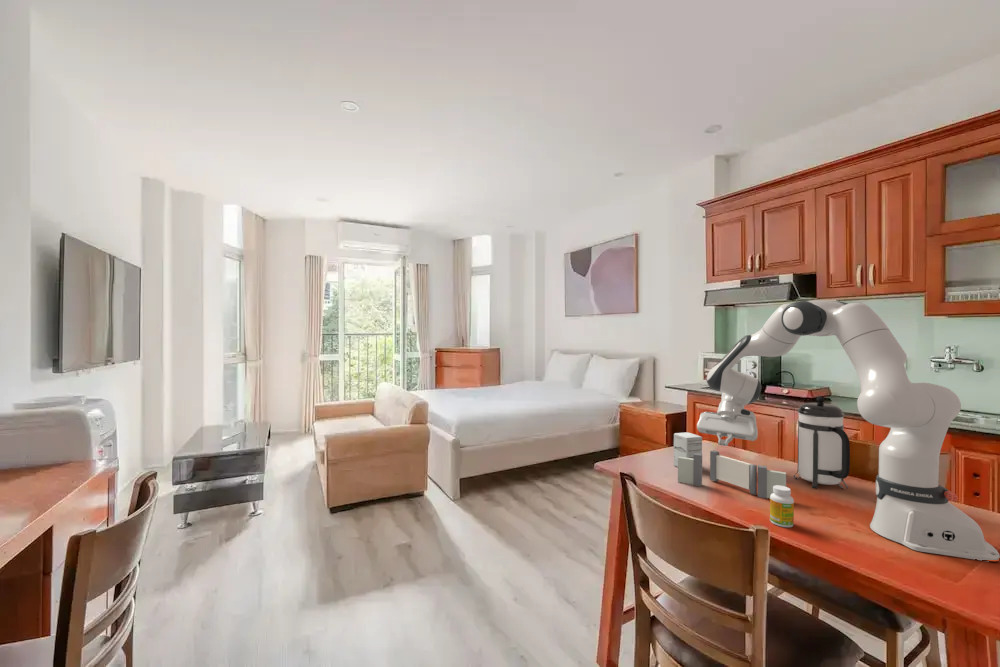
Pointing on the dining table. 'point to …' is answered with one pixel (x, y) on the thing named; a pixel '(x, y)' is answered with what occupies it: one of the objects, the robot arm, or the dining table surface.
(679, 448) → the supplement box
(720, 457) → the gate
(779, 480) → the fence
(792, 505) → the supplement bottle
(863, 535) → the dining table surface
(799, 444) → the coffee press
